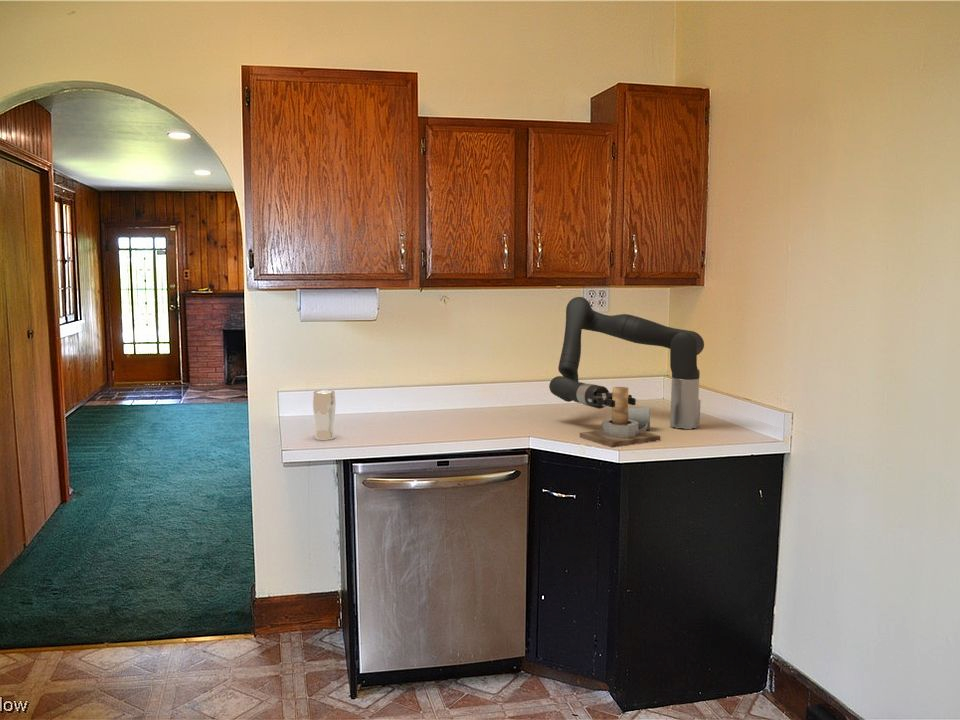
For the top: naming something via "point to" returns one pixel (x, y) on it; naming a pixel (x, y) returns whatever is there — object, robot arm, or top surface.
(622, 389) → the oak peg
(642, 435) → the walnut board
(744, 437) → the top surface
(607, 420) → the steel sleeve
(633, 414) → the ceramic mug
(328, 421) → the beer glass
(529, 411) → the top surface
